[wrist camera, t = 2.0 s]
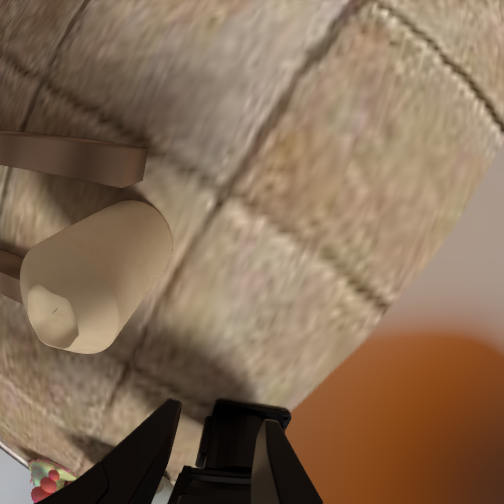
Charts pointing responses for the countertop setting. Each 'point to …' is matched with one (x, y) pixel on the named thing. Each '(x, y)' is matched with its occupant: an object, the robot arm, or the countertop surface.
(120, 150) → the u rest
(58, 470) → the candy landscape model
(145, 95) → the countertop surface
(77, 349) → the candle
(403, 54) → the countertop surface
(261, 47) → the countertop surface
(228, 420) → the robot arm
